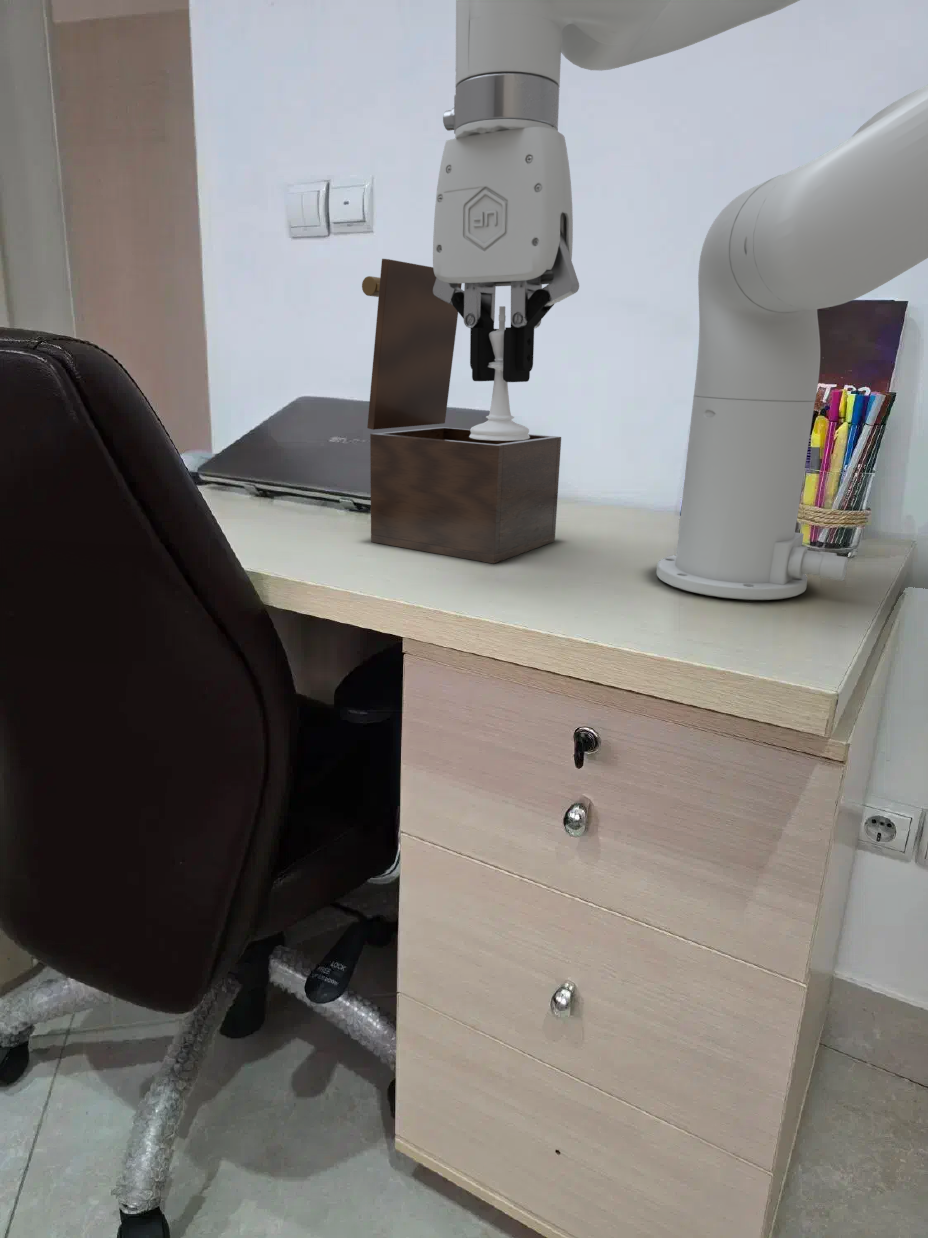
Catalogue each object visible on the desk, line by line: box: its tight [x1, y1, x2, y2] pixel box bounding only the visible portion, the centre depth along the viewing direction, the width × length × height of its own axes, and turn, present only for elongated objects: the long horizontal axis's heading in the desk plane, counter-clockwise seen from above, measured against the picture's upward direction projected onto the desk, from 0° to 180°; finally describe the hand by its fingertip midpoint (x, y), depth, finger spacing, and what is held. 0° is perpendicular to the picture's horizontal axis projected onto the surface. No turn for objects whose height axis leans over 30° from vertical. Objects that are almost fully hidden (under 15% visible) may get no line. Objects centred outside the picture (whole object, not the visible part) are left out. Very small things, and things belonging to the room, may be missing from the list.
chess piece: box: [469, 305, 530, 441], centre depth 66 cm, size 5×5×10 cm
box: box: [369, 426, 562, 564], centre depth 84 cm, size 15×13×11 cm
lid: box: [361, 258, 463, 431], centre depth 84 cm, size 15×13×6 cm
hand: (501, 379), depth 66 cm, fingers closed on chess piece
